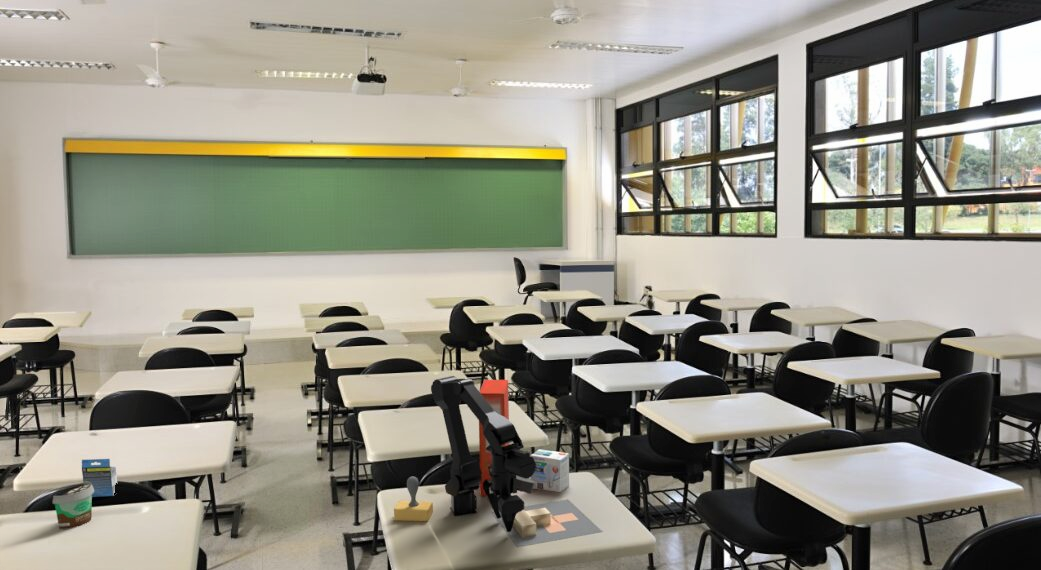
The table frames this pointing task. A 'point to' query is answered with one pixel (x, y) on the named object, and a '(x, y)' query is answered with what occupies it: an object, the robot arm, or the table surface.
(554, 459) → the light bulb box
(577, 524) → the mat
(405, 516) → the rubber stamp
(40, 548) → the table surface
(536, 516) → the t block
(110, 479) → the label tape box
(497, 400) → the file binder
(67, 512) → the food container
